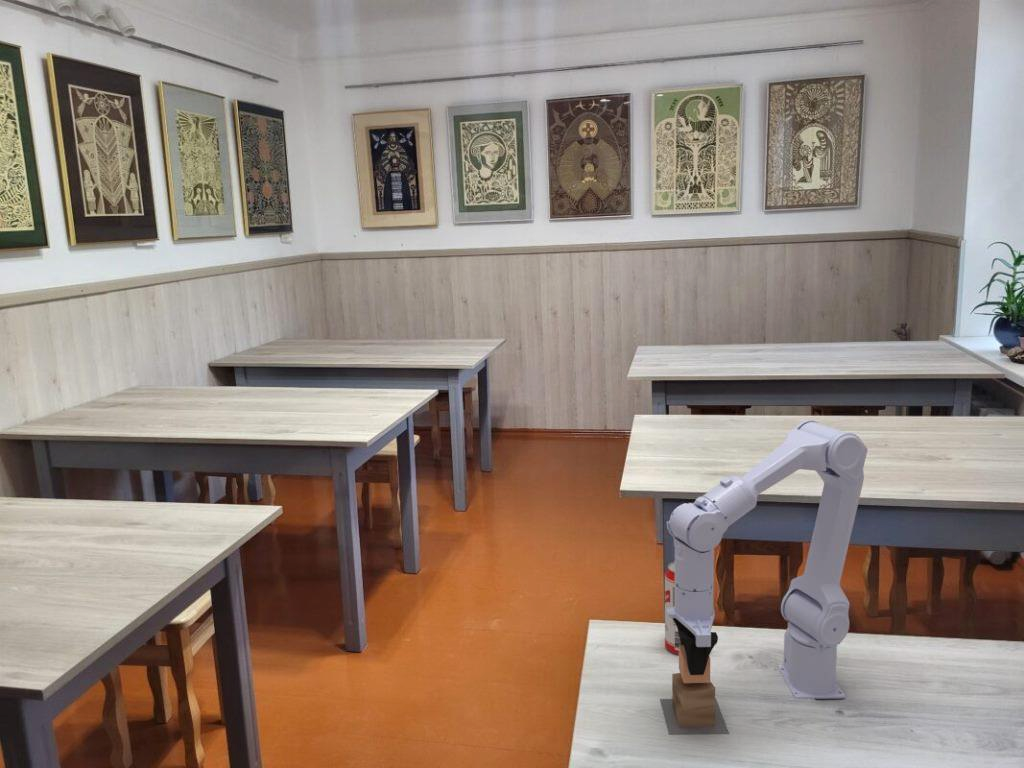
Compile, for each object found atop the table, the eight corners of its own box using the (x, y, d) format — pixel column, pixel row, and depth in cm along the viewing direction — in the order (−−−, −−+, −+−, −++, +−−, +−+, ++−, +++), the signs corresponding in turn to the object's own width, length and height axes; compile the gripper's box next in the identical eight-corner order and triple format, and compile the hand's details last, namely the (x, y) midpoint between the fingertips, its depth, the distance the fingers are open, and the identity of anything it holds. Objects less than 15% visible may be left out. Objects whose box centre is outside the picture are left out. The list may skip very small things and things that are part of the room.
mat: (659, 701, 126) (659, 698, 126) (715, 700, 126) (715, 697, 126) (669, 736, 117) (669, 734, 117) (729, 735, 117) (729, 733, 117)
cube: (678, 668, 122) (678, 645, 121) (704, 667, 122) (704, 644, 121) (683, 683, 118) (683, 659, 117) (710, 682, 118) (710, 658, 117)
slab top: (672, 691, 123) (672, 673, 122) (702, 687, 124) (702, 670, 123) (683, 710, 118) (683, 692, 117) (715, 705, 119) (715, 688, 118)
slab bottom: (672, 705, 124) (672, 688, 124) (707, 704, 124) (707, 687, 123) (678, 727, 119) (678, 709, 118) (714, 726, 119) (715, 708, 118)
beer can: (662, 656, 139) (662, 572, 136) (666, 638, 145) (666, 558, 142) (698, 660, 137) (699, 576, 134) (701, 642, 143) (701, 561, 140)
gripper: (659, 563, 124) (659, 641, 127) (675, 607, 110) (675, 693, 113) (704, 562, 124) (703, 640, 127) (726, 605, 110) (724, 692, 112)
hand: (693, 665), depth 120 cm, fingers closed on cube, 4 cm apart
